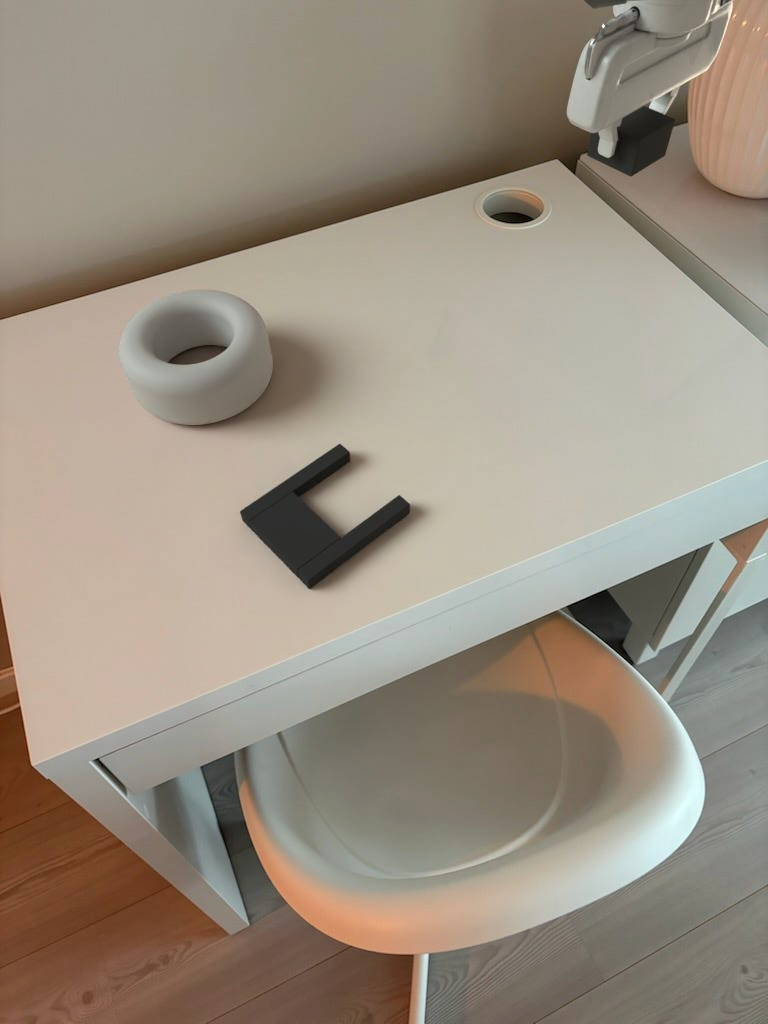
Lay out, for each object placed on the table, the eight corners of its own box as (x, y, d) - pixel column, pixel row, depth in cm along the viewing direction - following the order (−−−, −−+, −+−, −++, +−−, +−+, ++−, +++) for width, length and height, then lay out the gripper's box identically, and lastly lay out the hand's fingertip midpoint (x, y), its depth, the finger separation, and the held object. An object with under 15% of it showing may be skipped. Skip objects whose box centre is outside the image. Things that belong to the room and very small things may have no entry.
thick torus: (109, 415, 78) (86, 368, 72) (170, 321, 86) (154, 273, 81) (244, 442, 75) (231, 395, 70) (293, 343, 83) (286, 294, 78)
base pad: (410, 513, 70) (410, 503, 68) (309, 589, 65) (307, 581, 64) (341, 452, 74) (339, 443, 73) (242, 520, 70) (239, 511, 68)
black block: (665, 156, 82) (675, 119, 78) (630, 177, 79) (640, 139, 76) (620, 135, 84) (629, 99, 81) (586, 155, 82) (593, 118, 79)
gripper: (621, 39, 64) (590, 190, 75) (756, -29, 72) (709, 117, 83) (564, 17, 67) (542, 166, 78) (700, -46, 75) (662, 98, 86)
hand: (629, 140), depth 81 cm, fingers closed on black block, 6 cm apart
